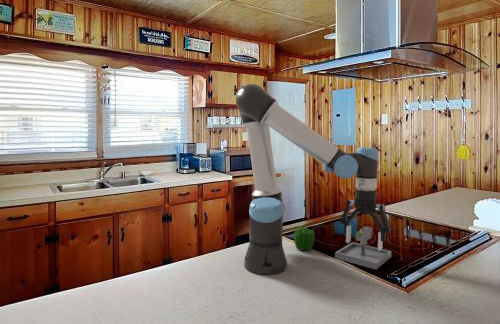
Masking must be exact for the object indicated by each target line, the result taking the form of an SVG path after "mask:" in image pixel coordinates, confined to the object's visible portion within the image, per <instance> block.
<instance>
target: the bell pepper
mask: <svg viewBox="0 0 500 324" xmlns="http://www.w3.org/2000/svg"><path fill="white" fill-rule="evenodd" d="M293 239H294V244H295V245H294V246H295V248H296V249H297V250H298V251H311V250H312V249H313V247H314V243H315V231H314V230H313V229H309V228H308V227H305V226H304V225H301V224H300V225H298V226H297V229H296V230H294V232H293Z"/></svg>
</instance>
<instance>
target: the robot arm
mask: <svg viewBox="0 0 500 324" xmlns="http://www.w3.org/2000/svg"><path fill="white" fill-rule="evenodd" d="M235 105H236V108H237V110H238V111H239V112H240V118H241V123H242V126H244V127H245V128H246V131H247V138H248V139H247V140H248V146H249V154H250V162H251V169H252V176H253V183H254V185H253V186H254V190H253V192H252V193H251V198H252V201H251V202H250V204H249V210H248V212H249V234H248V236H249V239H248V240H249V243H248V248H247V250H246V254H245V257H244V261H243V263H244V264H243V265H244V268H245V269H246V270H247V271H249V272H250V273H254V274H257V275H275V274H280V273H282V272H284V271H286V270H287V268H288V259H287V257H286V253H285V250H284V246H283V229H284V228H283V227H284V226H283V225H284V223H283V222H284V221H283V220H284V216H285V215H284V214H285V208H286V207H285V204H284V202H283V194H282V189H280V188H279V187H278V185H277V178H276V177H277V176H276V170H275V169H276V168H275V162H274V153H273V146H272V137H271V132H270V128H271V129H272V130H274V131H275V132H277V133H279V135H281V136H282V137H283V138H286V139H287V140H288V141H289V142H291V143H292V144H294V145H295V146H297V148H299V149H301V150H302V151H303V152H305V153H306V154H308V155H309V156H311V157H312V158H314V159H315V160H316V161H317V162H319V163H320V164H322V165H323V171H324V172H325V173H331V174H333V173H335V175H336V176H338V177H339V178H340V179H341V178H342V179H350V178H352V177H354V176H355V192H354V193H355V194H354V200H352V199H348V200H346V206H345V208H344V211H343V213H342V215H341V217H340V220H339V223H340V224H341V225H343V226H344V230H343V232H344V234H346V235H345V243H346V244H350V242H351V241H352V240H351V239H352V224H351V223H352V221H353V220H354V219H355V218H356V217H357V216H358V214H365V215H369V217H371V219H372V221H374V223H375V225H376V227H377V228H378V230H379V232H378V234H377V235H378V236H377V237H378V238H377V248H378V250H381V249H383V242H385V241H386V238H387V236H386V235H387V233H390V232H391V231H392V227H391V224H390V220H389V217H388V215H387V211H386V205H385V204H384V203H383V204H378V203H377V193H378V191H377V190H376V189H378V167H379V166H378V165H379V153H378V152H379V151H378V149H377V148H375V147H357V148H356V151H355V152H345V151H344V150H342V149H341V148H339V147H338V146H337V145H335V144H334V143H332V142H331V141H329V139H326V138H325V137H323V135H321V134H319V133H318V132H317V131H315V130H314V129H313V128H311V127H309V126H308V125H307V124H305V123H304V122H303V121H301V120H300V119H298V117H296V116H295V115H293V114H291V113H290V112H289V111H287V110H285V108H283V107H281V106H280V105H279V102H278V100H277V99H275V98H274V97H273V96H272V95H270V94H269V93H268V92H267V91H266V90H265V89H264V88H263V87H262V86H261V85H259V84H256V83H250V84H249V83H248V84H245V85H243V86H242V87H240V89H239V90H238V91H237V94H236V96H235ZM353 206H355V209H354V210H353V212H352V213H351V214H350V211H351V209H352V207H353ZM376 209H377V210H378V211H379V215H380V217H381V219H380V217H379V215H378V213H377V211H376ZM349 214H350V216H349Z"/></svg>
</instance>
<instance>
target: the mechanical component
mask: <svg viewBox="0 0 500 324" xmlns="http://www.w3.org/2000/svg"><path fill="white" fill-rule="evenodd" d="M372 234H373V227H370V226H367V225H366V226H363V227H361V228H360V229H359V231H356V232H355V241H359V244H361V255H362V254H363V255H364V256H365V251H366V246H367V244H368V240H370V239H371V238H372V236H373V235H372Z"/></svg>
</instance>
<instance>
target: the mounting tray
mask: <svg viewBox="0 0 500 324" xmlns="http://www.w3.org/2000/svg"><path fill="white" fill-rule="evenodd" d="M391 258H392V251H391V250H387V249H383V248H382V249H381V250H378V247H374V246H370V245H366V251H365V256H364V255H363V254H362V255H361V243H358V242H351V243H350V242H349V243H348V245H345V246H344V247H342V248H341V249H338V250H337V251H336V252H334V259H337V260H340V261H344V262H347V263H352V264H354V265H358V266H362V267H366V268H369V269H372V270H373V269H374V270H378V269H379V268H381V266H382V265H384V264H385V263H386V262H388V260H389V259H391Z"/></svg>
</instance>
